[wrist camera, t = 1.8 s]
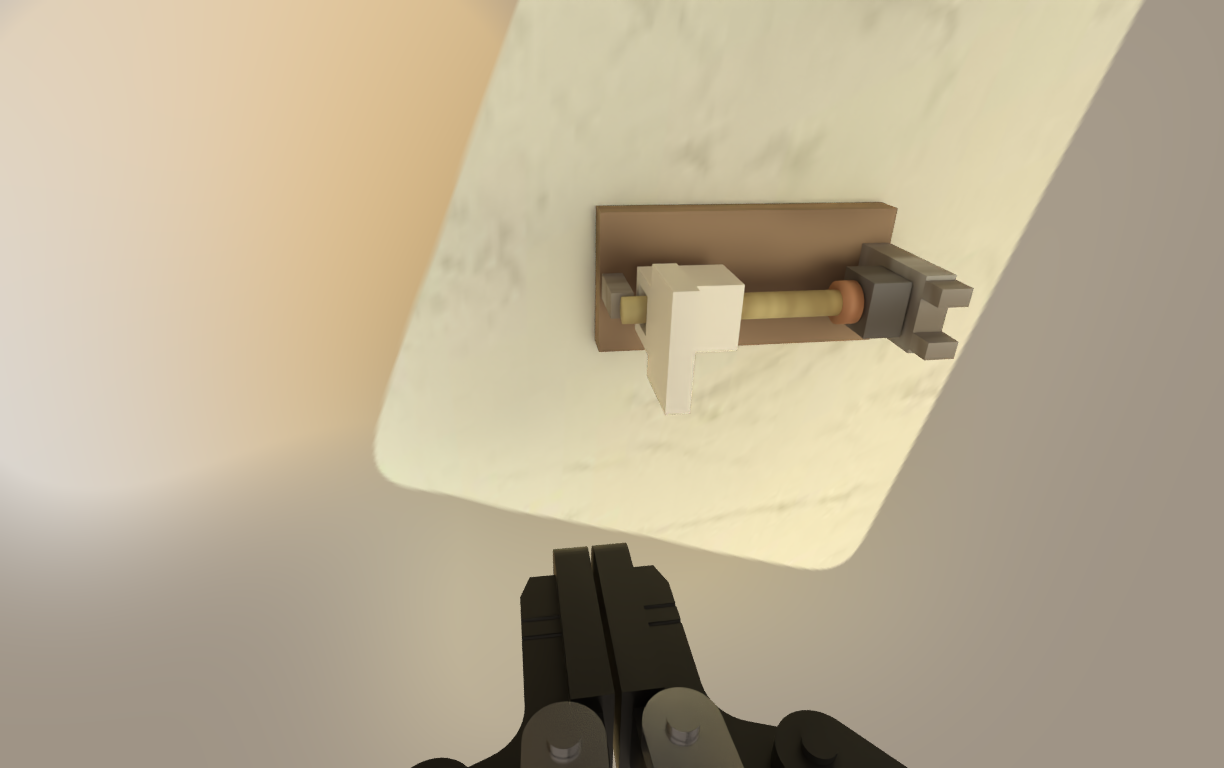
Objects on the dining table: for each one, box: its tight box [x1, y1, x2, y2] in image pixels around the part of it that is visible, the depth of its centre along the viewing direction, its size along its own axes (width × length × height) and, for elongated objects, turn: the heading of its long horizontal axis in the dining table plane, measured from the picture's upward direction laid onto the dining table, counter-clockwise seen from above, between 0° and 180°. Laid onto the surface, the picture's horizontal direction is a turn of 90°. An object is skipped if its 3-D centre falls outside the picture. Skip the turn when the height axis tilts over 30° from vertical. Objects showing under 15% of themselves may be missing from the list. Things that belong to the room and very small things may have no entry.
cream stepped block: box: [635, 263, 745, 415], centre depth 27 cm, size 5×4×6 cm
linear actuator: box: [595, 202, 974, 360], centre depth 30 cm, size 7×15×8 cm, turn 89°
